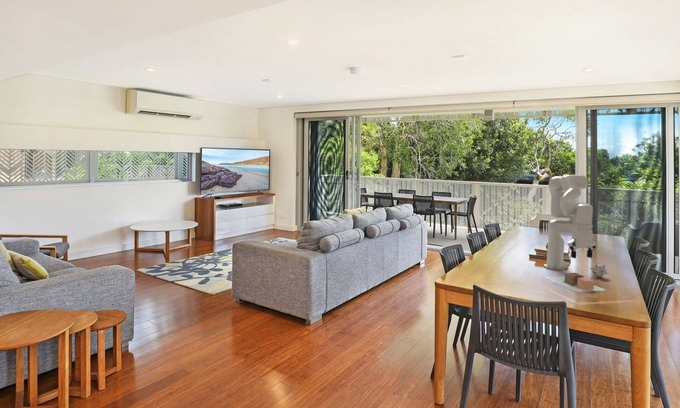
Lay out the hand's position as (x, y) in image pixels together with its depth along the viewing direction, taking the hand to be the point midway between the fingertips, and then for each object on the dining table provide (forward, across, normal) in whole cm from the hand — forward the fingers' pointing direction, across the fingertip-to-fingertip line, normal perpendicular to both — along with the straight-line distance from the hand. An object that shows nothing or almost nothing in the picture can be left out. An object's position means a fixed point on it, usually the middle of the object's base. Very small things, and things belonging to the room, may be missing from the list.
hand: (581, 257), depth 231 cm
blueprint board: (+17, 0, -5) cm, 18 cm away
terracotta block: (+16, 0, +4) cm, 17 cm away
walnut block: (+16, 0, -5) cm, 16 cm away
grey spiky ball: (+17, -27, -18) cm, 37 cm away
